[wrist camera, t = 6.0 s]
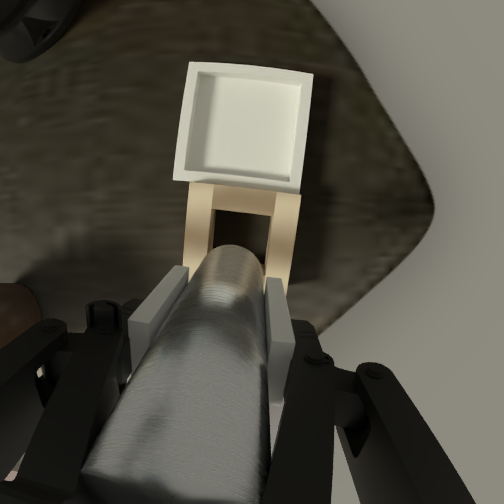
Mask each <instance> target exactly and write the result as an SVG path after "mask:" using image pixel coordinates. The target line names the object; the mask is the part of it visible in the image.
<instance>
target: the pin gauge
mask: <svg viewBox="0 0 504 504" xmlns="http://www.w3.org/2000/svg"><path fill="white" fill-rule="evenodd" d="M270 465H271V443H270V417H269V393H268V371H267V350H266V328H265V307H264V287H263V271H262V267H261V264H260V262H259V260H258V259H257V258H256V256H255V255H254V254H253V253H252V252H250V251H249V250H247V249H246V248H243V247H241V246H237V245H223V246H219V247H217V248H215V249H213V250H211V251H210V252H209V253H208V254H207V255H206V256H205V257H204V259H203V260H202V262H201V263H200V265H199V267H198V268H197V270H196V271H195V273H194V274H193V276H192V278H191V279H190V281H189V282H188V284H187V286H186V287H185V289H184V290H183V292H182V294H181V295H180V297H179V298H178V300H177V302H176V303H175V305H174V306H173V308H172V310H171V311H170V313H169V315H168V316H167V318H166V319H165V321H164V323H163V324H162V326H161V328H160V329H159V331H158V333H157V334H156V336H155V337H154V339H153V341H152V342H151V344H150V346H149V347H148V349H147V351H146V352H145V354H144V356H143V358H142V359H141V361H140V363H139V364H138V366H137V368H136V369H135V371H134V373H133V374H132V376H131V378H130V380H129V381H128V383H127V385H126V386H125V388H124V390H123V392H122V393H121V395H120V397H119V399H118V400H117V402H116V404H115V406H114V407H113V409H112V411H111V413H110V414H109V416H108V418H107V420H106V421H105V423H104V425H103V427H102V429H101V430H100V432H99V434H98V436H97V438H96V439H95V441H94V443H93V445H92V447H91V449H90V450H89V452H88V455H87V457H86V459H85V461H84V464H83V466H82V468H81V471H80V473H81V476H82V478H83V480H84V482H85V484H86V487H87V489H88V491H89V493H90V495H91V497H92V499H93V501H94V503H95V504H261V501H262V498H263V494H264V490H265V486H266V482H267V478H268V474H269V470H270Z"/></svg>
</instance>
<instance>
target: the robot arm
mask: <svg viewBox="0 0 504 504" xmlns="http://www.w3.org/2000/svg"><path fill="white" fill-rule="evenodd" d="M81 2H82V0H0V56H1V57H2V58H4V59H5V60H7V61H10V62H13V63H24V62H27V61H30V60H32V59H34V58H36V57H38V56H39V55H41V54H42V53H44V52H45V51H46V50H47V49H49V48H50V47H51V46H52V45H53V44H54V43H55V42H56V41H57V40H58V39H59V38H60V37H61V36H62V34H63V33H64V32H65V31H66V30H67V28H68V27H69V25H70V24H71V22H72V21H73V19H74V17H75V16H76V14H77V12H78V10H79V7H80V5H81ZM188 280H189V267H185V266H178V265H175V266H174V267H173V268H172V269H171V270H170V272H169V273H168V274H167V275H166V276H165V277H164V278H163V279H162V281H161V282H160V283H159V284H158V285H157V286H156V287H155V289H154V290H153V291H152V292H151V293H150V294H149V295H148V297H147V298H146V299H145V300H138V299H133V300H130V301H128V302H126V303H125V304H124V305H123V306H122V307H121V306H120V305H119V304H118V303H116V302H113V301H108V300H100V301H94V302H91V303H89V304H87V305H86V306H85V307H86V319H87V329H86V331H85V333H68V332H67V325H66V324H65V322H63V321H61V320H58V319H54V318H51V319H50V318H48V319H45V320H41V321H39V322H37V323H36V324H34V325H33V326H31V327H30V328H29V329H27V330H26V331H24V332H23V333H22V334H20V335H19V336H18V337H16V338H15V339H13V340H12V341H11V342H9V343H8V344H7V345H5V346H4V347H3V348H1V349H0V504H95V503H94V501H93V499H92V497H91V495H90V493H89V491H88V489H87V487H86V484H85V482H84V480H83V478H82V476H81V473H80V471H81V468H82V466H83V464H84V461H85V459H86V457H87V455H88V452H89V450H90V449H91V447H92V445H93V443H94V441H95V439H96V438H97V436H98V434H99V432H100V430H101V429H102V427H103V425H104V423H105V421H106V420H107V418H108V416H109V414H110V413H111V411H112V409H113V407H114V406H115V404H116V402H117V400H118V399H119V397H120V395H121V393H122V392H123V390H124V388H125V386H126V385H127V379H128V377H129V375H130V373H131V376H132V374H133V373H134V371H135V369H136V368H137V366H138V364H139V363H140V361H141V359H142V358H143V356H144V354H145V352H146V351H147V349H148V347H149V346H150V344H151V342H152V341H153V339H154V337H155V336H156V334H157V333H158V331H159V329H160V328H161V326H162V324H163V323H164V321H165V319H166V318H167V316H168V315H169V313H170V311H171V310H172V308H173V306H174V305H175V303H176V302H177V300H178V298H179V297H180V295H181V294H182V292H183V290H184V289H185V287H186V286H187V284H188ZM264 307H265V328H266V350H267V371H268V393H269V405H273V406H281V405H282V401H283V397H284V402H285V403H284V407H283V411H282V415H281V419H280V423H279V427H278V432H277V436H276V440H275V444H274V448H273V453H272V456H271V465H270V470H269V474H268V478H267V482H266V486H265V490H264V494H263V498H262V501H261V504H331V492H332V476H333V454H334V425H335V426H336V429H337V433H338V436H339V439H340V442H341V445H342V448H343V451H344V454H345V457H346V460H347V463H348V466H349V469H350V472H351V475H352V478H353V482H354V485H355V488H356V491H357V494H358V497H359V500H360V503H361V504H476V503H475V501H474V500H473V498H472V496H471V494H470V493H469V491H468V489H467V488H466V486H465V484H464V483H463V481H462V479H461V478H460V476H459V474H458V473H457V471H456V469H455V468H454V466H453V464H452V463H451V461H450V460H449V458H448V456H447V455H446V453H445V452H444V450H443V448H442V447H441V445H440V444H439V442H438V440H437V439H436V437H435V436H434V434H433V433H432V431H431V430H430V428H429V426H428V425H427V423H426V422H425V421H424V419H423V417H422V416H421V414H420V413H419V411H418V410H417V408H416V407H415V405H414V404H413V402H412V400H411V399H410V398H409V396H408V395H407V393H406V392H405V390H404V389H403V387H402V386H401V384H400V383H399V381H398V380H397V379H396V377H395V375H394V374H393V372H392V371H391V370H390V369H389V368H387V367H385V366H384V365H382V364H378V363H375V362H374V363H373V362H366V363H362V364H360V365H358V367H357V369H356V372H352V371H348V370H343V369H340V368H337V367H335V366H334V361H333V358H332V357H331V356H329V355H328V354H326V353H324V352H323V351H322V348H321V345H320V342H319V339H318V336H317V334H316V331H315V328H314V326H313V325H312V324H311V323H309V322H308V321H304V320H294V319H290V315H289V310H288V306H287V301H286V297H285V292H284V288H283V283H282V279H281V278H273V277H267V278H266V285H265V292H264ZM40 367H41V369H42V373H43V375H42V376H41V377H39V378H38V376H37V370H38V369H39V368H40ZM25 452H26V453H25ZM24 453H25V455H24V457H23V460H22V462H21V465H20V468H19V470H18V473H17V476H16V477H15V479H14V480H13V481H5V480H4V479H5V478H6V477H7V475H8V474H9V473H10V471H11V470H12V469H13V467H14V466H15V465H16V463H17V462H18V461H19V460H20V458H21V457H22V456H23V454H24Z"/></svg>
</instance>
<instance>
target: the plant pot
mask: <svg viewBox="0 0 504 504" xmlns="http://www.w3.org/2000/svg"><path fill="white" fill-rule="evenodd" d="M39 321H41V311H40V307H39V305H38V302H37V300H36V299H35V297H34V295H33V294H32V293H31V292H30V291H29V290H28V289H27V288H26V287H25V286H23V285H21V284H15V283H0V349H1V348H3V347H4V346H5V345H7V344H8V343H9V342H11V341H12V340H13V339H15V338H16V337H18V336H19V335H20V334H22V333H23V332H24V331H26V330H27V329H29V328H30V327H31V326H33V325H34V324H36V323H37V322H39Z"/></svg>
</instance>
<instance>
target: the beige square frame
mask: <svg viewBox="0 0 504 504" xmlns="http://www.w3.org/2000/svg"><path fill="white" fill-rule="evenodd" d="M300 201H301V195H300V194H294V193H287V192H279V191H272V190H264V189H256V188H248V187H240V186H231V185H222V184H212V183H202V182H190V185H189V195H188V205H187V217H186V228H185V241H184V255H183V266H185V267H189V280H188V282H189V281H190V279H191V278H192V276H193V274H194V273H195V271H196V270H197V268H198V267H199V265H200V263H201V262H202V260H203V259H204V257H205V256H206V255H207V254H208V253H209V252H210V251H211V250H212V248H213V237H214V227H215V218H216V209H218V210H227V211H235V212H244V213H252V214H260V215H268V216H271V220H270V227H269V235H268V242H267V250H266V257H265V264H261V267H262V271H263V287H264V292H265V285H266V278H267V277H273V278H281V279H282V283H283V288H284V292H285V297H286V292H287V286H288V280H289V274H290V268H291V262H292V255H293V249H294V242H295V236H296V229H297V222H298V215H299V208H300Z"/></svg>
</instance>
